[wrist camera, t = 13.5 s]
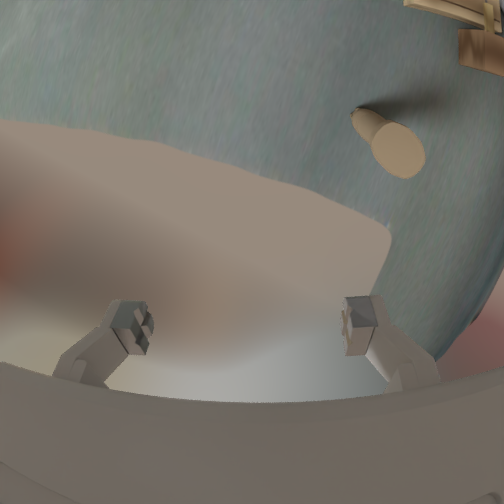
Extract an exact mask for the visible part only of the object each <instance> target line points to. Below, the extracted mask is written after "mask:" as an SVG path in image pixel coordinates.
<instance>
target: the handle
mask: <svg viewBox="0 0 504 504" xmlns="http://www.w3.org/2000/svg"><path fill="white" fill-rule="evenodd" d="M350 118H351V119H352V125H353V127H354V128H355V130H356V131H357V133H358V134H359V135H360V136H361V137H362V138H363V139H364V140H365V141H367V142H368V143H369V144H370V147H371V150H372V152H373V155H374V157H375V159H376V160H377V161H378V162H379V163H380V164H381V165H382V166H383V167H384V168H385V169H386V170H387V171H388V172H389V173H390V174H392V175H394V176H397V177H400V178H403V179H407V178H410V177H412V176H414V175H415V174H416V173H418V172H419V171H420V169H421V168H422V167H423V165H424V162H425V159H426V157H425V153H424V149H423V146H422V143H421V141H420V140H419V138H418V137H417V136H416V135H415V134H414V133H413V132H412V131H411V130H410V129H409V128H408V127H406V126H404V125H402V124H400V123H398V122H395V121H392V120H385V119H384V118H383V117H382V116H380V115H379V114H377V113H376V112H374V111H371V110H369V109H361V108H355V111H354V112H353V113H351V114H350Z"/></svg>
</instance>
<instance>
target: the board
mask: <svg viewBox="0 0 504 504" xmlns="http://www.w3.org/2000/svg"><path fill="white" fill-rule="evenodd" d="M483 3H488V4H490V5H493V16H494V30H495V32H498V33H502V29H501V14H500V4H499V0H403V4H404V6H407V7H412V8H416V9H420V10H424V11H428V12H432V13H436V14H439V15H443V16H446V17H449V18H452V19H456V20H459V21H462V22H465V23H467V24H470V25H473V26H476V27H478V28H481V29H484V30H485V26H484V12H483Z"/></svg>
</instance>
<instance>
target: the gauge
mask: <svg viewBox="0 0 504 504" xmlns="http://www.w3.org/2000/svg"><path fill="white" fill-rule="evenodd" d="M483 12H484V26H485V30H476V29H458V39H459V64H460V65H463V66H467V67H471V68H474V69H477V70H481V71H484V72H488V73H492V74H495V75H499V76H502V77H504V38H503V37H500V36H498V35H496V34H495V30H494V16H493V5H490V4H488V3H483Z"/></svg>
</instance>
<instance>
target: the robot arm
mask: <svg viewBox="0 0 504 504" xmlns="http://www.w3.org/2000/svg"><path fill="white" fill-rule="evenodd" d="M147 308H148V306H147V304H146V302H144V301H131V300H113V301H112V302H111V303H110V305H109V308H108V310H107V312H106V314H105V316H104V318H103V320H102V322H101V324H100V327H96V328H95V329H94V330H92V331H91V332H90V333H89V334H87V335H86V336H85V337H84V338H82V339H81V340H80V341H78V342H77V343H76V344H74V345H73V346H72V347H71V348H70V349H68V350H67V351H66V352H65V353H63V354H62V355H61V357H60V359H59V361H58V364H57V366H56V368H55V370H54V372H53V375H52V376H49V375H45V374H41V373H38V372H35V371H31V370H28V369H25V368H22V367H18V366H15V365H12V364H10V363H6V362H3V361H2V362H0V504H504V366H503V367H499V368H496V369H493V370H490V371H486V372H483V373H480V374H476V375H473V376H469V377H465V378H461V379H457V380H453V381H449V382H445V383H441V380H440V377H439V373H438V370H437V367H436V364H435V361H434V358H433V357H432V356H431V355H429V354H428V353H427V352H426V351H425V350H424V349H423V348H421V347H420V346H419V345H418V344H417V343H415V342H414V341H413V340H412V339H411V338H410V337H408V336H407V335H406V334H405V333H404V332H403V331H401V330H400V329H399V328H398V327H397V326H395V325H391V322H390V319H389V316H388V313H387V310H386V307H385V304H384V301H383V298H382V296H381V295H369V296H355V297H345V298H344V300H343V308H344V310H343V311H342V312H341V318H340V326H341V333H342V335H343V336H344V341H343V344H344V351H345V356H356V355H365V356H366V357H367V358H368V359H369V360H370V362H371V363H372V364H373V365H374V366H375V368H376V369H377V370H378V371H379V372H380V373H381V375H383V377H384V378H385V379H386V380H387V382H388V383H389V384H388V386H387V387H386V389H385V391H384V392H383V394H380V395H372V396H365V397H356V398H346V399H335V400H323V401H306V402H279V403H244V402H216V401H200V400H187V399H176V398H167V397H158V396H150V395H143V394H136V393H129V392H123V391H117V390H111V389H109V387H108V386H107V385H106V384H105V383H104V381H105V380H106V379H107V378H108V377H109V376H110V375H111V373H113V372H114V370H115V369H116V368H117V367H118V366H119V365H120V364H121V363H122V362H123V361H124V360H125V359H126V358H127V356H128V354H131V355H146V352H147V349H148V346H149V342H148V338H149V337H150V336H151V335H152V333H153V329H154V321H153V317H152V315H151V314H150V313H149V312H147Z"/></svg>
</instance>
